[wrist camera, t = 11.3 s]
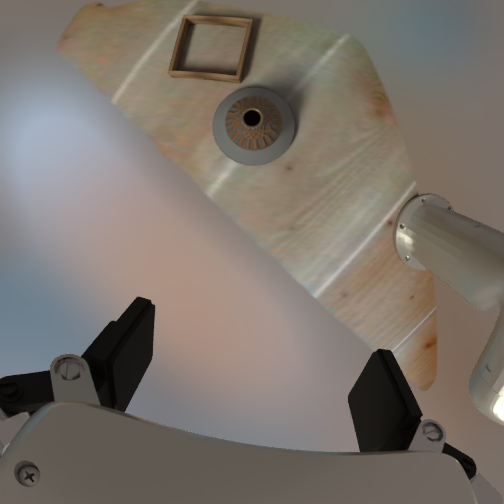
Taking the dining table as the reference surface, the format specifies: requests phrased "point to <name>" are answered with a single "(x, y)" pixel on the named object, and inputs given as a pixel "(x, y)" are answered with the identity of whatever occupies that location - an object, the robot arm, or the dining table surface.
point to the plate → (247, 155)
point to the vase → (253, 123)
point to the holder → (214, 21)
